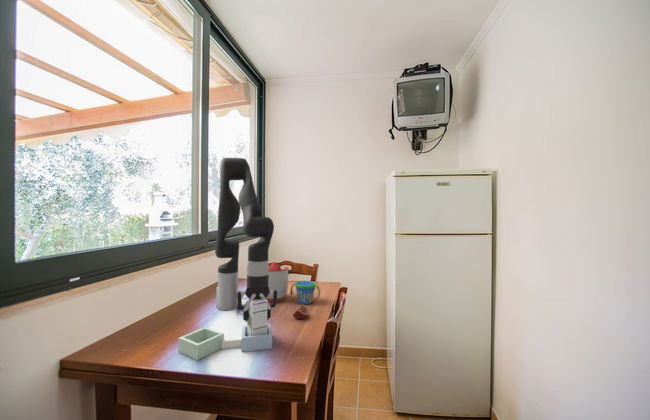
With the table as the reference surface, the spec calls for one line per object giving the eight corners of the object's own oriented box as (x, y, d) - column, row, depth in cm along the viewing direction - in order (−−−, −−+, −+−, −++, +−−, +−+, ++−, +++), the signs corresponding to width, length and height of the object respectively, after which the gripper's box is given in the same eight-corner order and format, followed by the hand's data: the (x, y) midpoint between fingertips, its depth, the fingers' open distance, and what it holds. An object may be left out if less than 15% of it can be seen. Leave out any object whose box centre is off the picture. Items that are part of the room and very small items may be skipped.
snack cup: (322, 301, 143) (322, 281, 143) (315, 307, 133) (316, 286, 133) (295, 298, 147) (295, 279, 148) (287, 304, 137) (287, 284, 138)
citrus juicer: (296, 297, 148) (296, 261, 149) (274, 306, 134) (274, 266, 134) (275, 292, 157) (275, 258, 157) (252, 300, 142) (252, 262, 142)
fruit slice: (296, 313, 124) (296, 302, 124) (310, 315, 123) (310, 304, 123) (290, 320, 116) (290, 309, 116) (305, 322, 115) (305, 310, 115)
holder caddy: (172, 363, 82) (172, 348, 82) (183, 341, 96) (183, 328, 96) (272, 351, 90) (272, 337, 90) (269, 333, 103) (270, 321, 104)
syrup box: (267, 340, 95) (268, 299, 95) (251, 344, 91) (251, 301, 92) (261, 334, 99) (262, 294, 100) (245, 338, 96) (246, 297, 96)
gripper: (236, 276, 90) (235, 326, 90) (279, 274, 94) (278, 322, 94) (237, 271, 98) (236, 317, 97) (277, 270, 101) (276, 314, 101)
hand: (257, 319), depth 96 cm, fingers closed on syrup box, 6 cm apart
